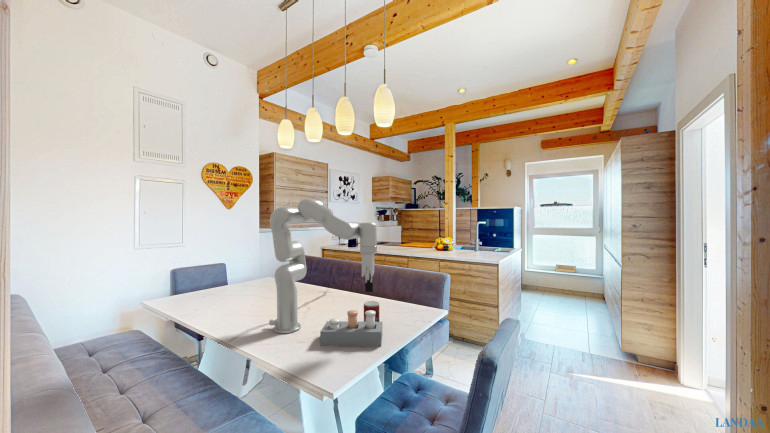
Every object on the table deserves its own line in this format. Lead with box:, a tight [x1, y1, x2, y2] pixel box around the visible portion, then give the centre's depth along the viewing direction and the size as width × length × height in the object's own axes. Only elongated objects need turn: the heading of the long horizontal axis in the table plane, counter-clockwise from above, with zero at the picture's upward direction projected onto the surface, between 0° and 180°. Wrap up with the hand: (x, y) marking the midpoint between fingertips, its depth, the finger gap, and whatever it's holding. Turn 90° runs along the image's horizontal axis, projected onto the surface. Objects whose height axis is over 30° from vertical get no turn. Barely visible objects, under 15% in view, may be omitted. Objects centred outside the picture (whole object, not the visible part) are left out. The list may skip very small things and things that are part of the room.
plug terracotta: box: [347, 309, 359, 329], centre depth 130 cm, size 5×5×8 cm
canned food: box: [363, 300, 380, 322], centre depth 148 cm, size 8×8×11 cm
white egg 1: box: [329, 317, 341, 329], centre depth 130 cm, size 5×5×8 cm
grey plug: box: [365, 310, 376, 329], centre depth 130 cm, size 5×5×8 cm
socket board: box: [319, 320, 383, 347], centre depth 130 cm, size 26×12×6 cm, turn 88°
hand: (369, 291), depth 129 cm, fingers closed
